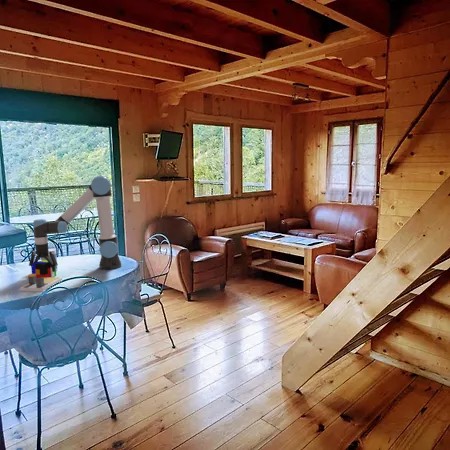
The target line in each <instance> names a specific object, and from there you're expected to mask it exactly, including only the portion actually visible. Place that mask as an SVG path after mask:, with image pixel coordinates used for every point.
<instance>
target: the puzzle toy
mask: <svg viewBox="0 0 450 450" xmlns="http://www.w3.org/2000/svg"><path fill="white" fill-rule="evenodd" d="M50 267H51V265H50V264H49V262H48V261H47V260H38V262H36V263H32V264H31V266H30V269H31V274H36V279H37V278H41V277H42V278H43V277H51V269H50ZM54 275H55V276H54V277H57V271H56V266H55V272H54Z"/></svg>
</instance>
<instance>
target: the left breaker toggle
mask: <svg viewBox="0 0 450 450" xmlns="http://www.w3.org/2000/svg"><path fill="white" fill-rule="evenodd" d="M42 286H44V278H37V279H36V287H42Z"/></svg>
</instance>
